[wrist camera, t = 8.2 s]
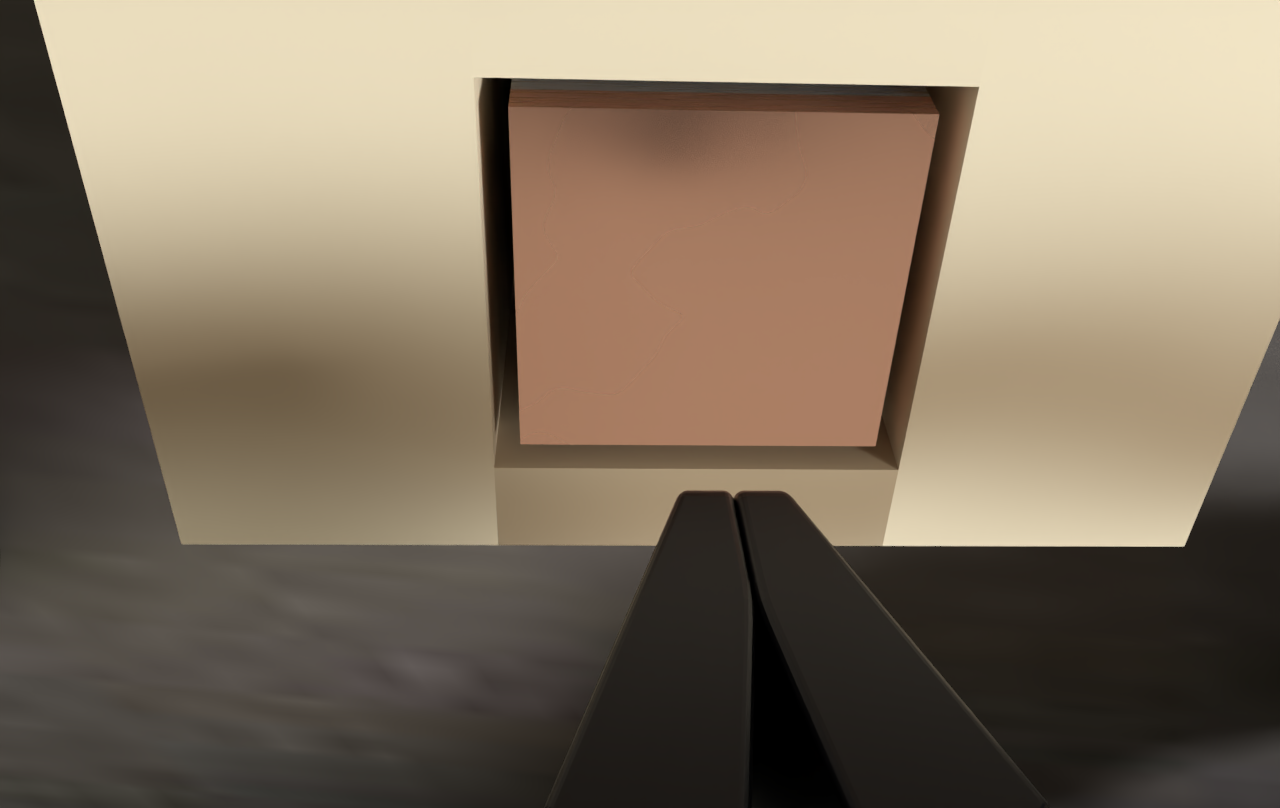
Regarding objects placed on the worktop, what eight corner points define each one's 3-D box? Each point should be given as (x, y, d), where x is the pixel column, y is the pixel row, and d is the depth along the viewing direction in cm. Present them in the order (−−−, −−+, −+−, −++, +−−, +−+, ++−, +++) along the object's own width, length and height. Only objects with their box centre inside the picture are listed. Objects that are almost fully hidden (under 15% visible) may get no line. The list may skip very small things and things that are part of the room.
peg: (805, 201, 18) (875, 446, 14) (538, 197, 18) (519, 444, 14) (839, -72, 16) (939, 114, 11) (534, -80, 16) (508, 107, 11)
